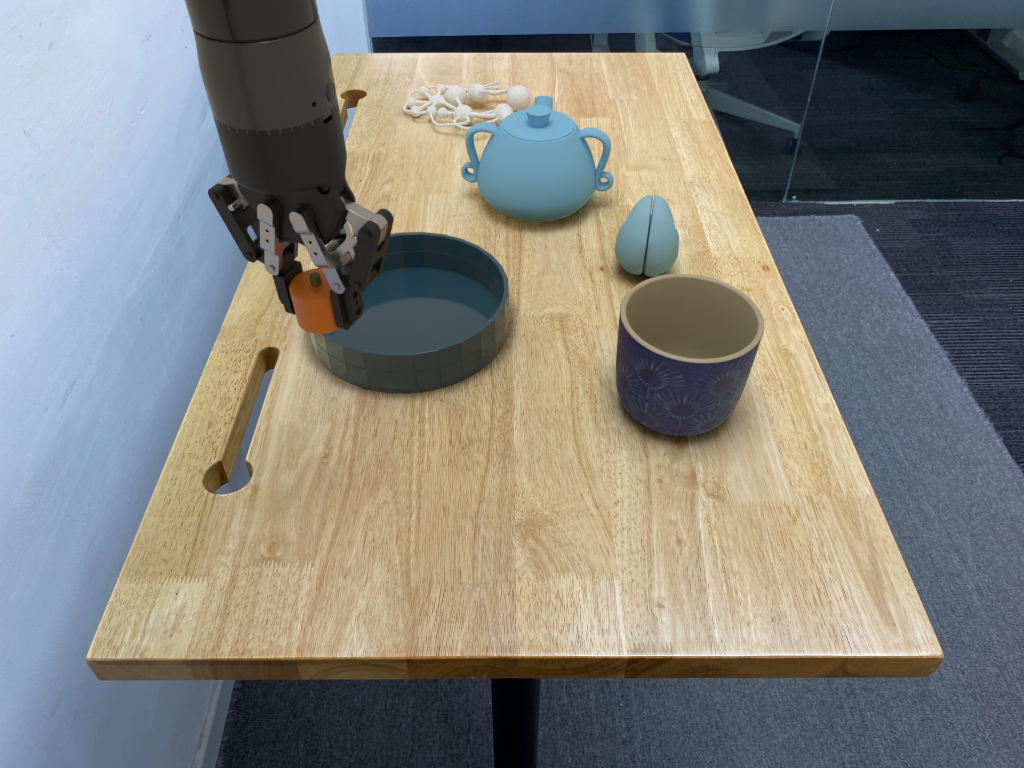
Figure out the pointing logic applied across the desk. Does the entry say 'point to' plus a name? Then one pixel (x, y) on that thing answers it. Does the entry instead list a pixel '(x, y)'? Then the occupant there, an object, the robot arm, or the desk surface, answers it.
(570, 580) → the desk surface
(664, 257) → the toy flower bud
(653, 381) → the planter
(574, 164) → the blue sugar bowl
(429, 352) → the bowl
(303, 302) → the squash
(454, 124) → the tangled rod sculpture
